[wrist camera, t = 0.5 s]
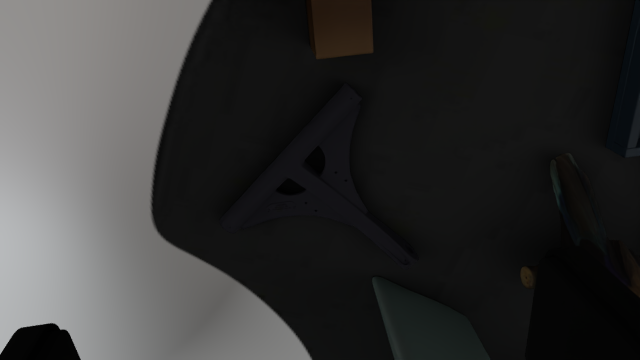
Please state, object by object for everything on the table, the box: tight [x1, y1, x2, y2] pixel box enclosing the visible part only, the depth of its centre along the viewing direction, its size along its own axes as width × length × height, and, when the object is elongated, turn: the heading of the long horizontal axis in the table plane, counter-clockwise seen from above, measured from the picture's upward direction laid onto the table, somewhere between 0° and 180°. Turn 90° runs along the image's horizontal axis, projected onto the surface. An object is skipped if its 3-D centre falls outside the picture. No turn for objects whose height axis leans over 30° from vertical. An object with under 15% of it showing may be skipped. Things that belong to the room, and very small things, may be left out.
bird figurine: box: [520, 153, 640, 298], centre depth 37 cm, size 13×10×20 cm
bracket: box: [220, 83, 419, 270], centre depth 36 cm, size 14×15×3 cm
